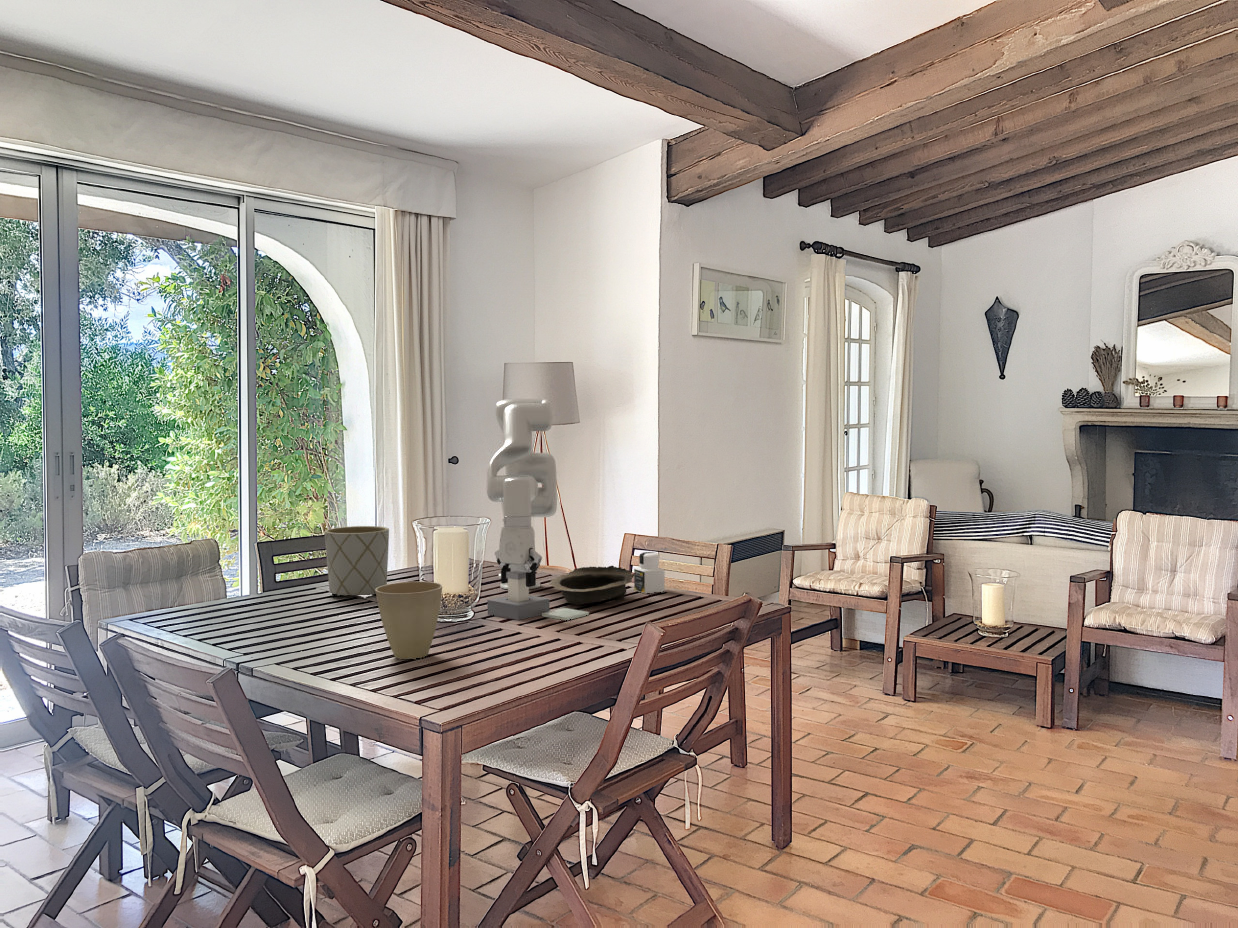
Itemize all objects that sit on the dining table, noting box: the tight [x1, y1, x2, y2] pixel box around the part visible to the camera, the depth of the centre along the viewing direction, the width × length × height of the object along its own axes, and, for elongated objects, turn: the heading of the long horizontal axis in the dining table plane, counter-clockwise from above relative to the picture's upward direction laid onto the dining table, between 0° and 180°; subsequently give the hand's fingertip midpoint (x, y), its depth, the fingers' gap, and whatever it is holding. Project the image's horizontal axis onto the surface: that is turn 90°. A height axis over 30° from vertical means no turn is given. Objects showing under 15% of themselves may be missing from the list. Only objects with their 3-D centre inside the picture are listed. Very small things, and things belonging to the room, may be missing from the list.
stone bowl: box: [549, 565, 635, 606], centre depth 283 cm, size 25×25×9 cm
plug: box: [506, 570, 530, 602], centre depth 266 cm, size 5×5×12 cm
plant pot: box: [375, 581, 443, 660], centre depth 220 cm, size 15×15×16 cm
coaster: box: [541, 607, 590, 621], centre depth 263 cm, size 9×9×1 cm
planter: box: [324, 525, 390, 597], centre depth 297 cm, size 19×19×20 cm
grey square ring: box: [486, 594, 550, 621], centre depth 266 cm, size 12×12×4 cm
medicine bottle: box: [633, 551, 666, 595], centre depth 298 cm, size 7×7×12 cm
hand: (518, 584), depth 266 cm, fingers open, 9 cm apart
